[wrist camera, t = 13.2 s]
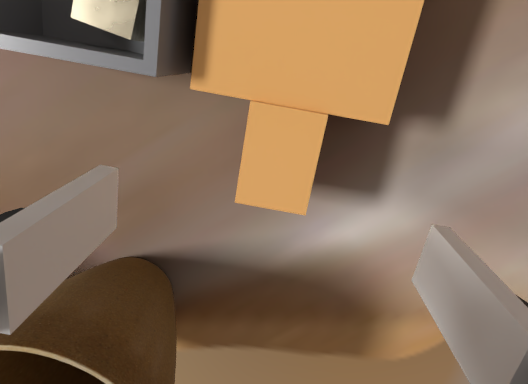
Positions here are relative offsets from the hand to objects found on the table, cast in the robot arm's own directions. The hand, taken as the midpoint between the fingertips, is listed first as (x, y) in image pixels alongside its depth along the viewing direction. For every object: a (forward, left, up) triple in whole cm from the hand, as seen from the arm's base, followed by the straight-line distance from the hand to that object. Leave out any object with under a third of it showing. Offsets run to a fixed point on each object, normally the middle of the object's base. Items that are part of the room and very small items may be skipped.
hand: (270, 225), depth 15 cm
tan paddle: (-8, 0, -13) cm, 15 cm away
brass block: (-8, -12, -15) cm, 21 cm away
